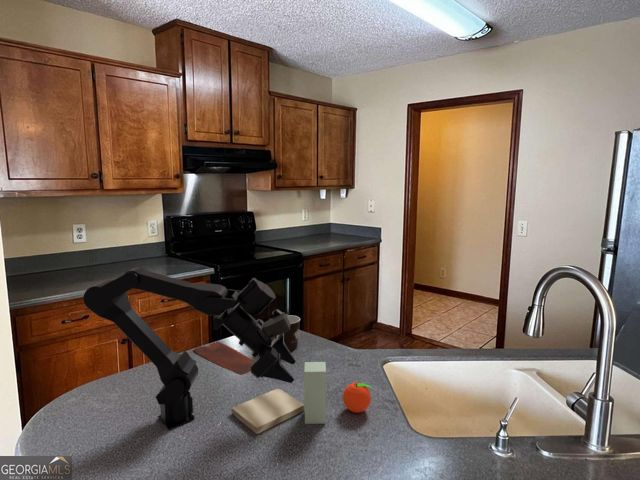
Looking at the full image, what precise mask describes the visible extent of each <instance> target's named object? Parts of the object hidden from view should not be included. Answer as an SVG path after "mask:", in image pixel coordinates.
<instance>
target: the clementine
mask: <svg viewBox="0 0 640 480" xmlns="http://www.w3.org/2000/svg"><path fill="white" fill-rule="evenodd" d="M370 388H371V389H372V390H373V392H374V393H375V391H374V389H373V387H372V386H370V385H368V384H367V383H362V382H352V383H350V384H348V385H347V386H346V387H345V389H344V391H343V394H342V400H343V405H344V406H345V407H346V409H347V410H348V411H350V412H352V413H355V414H357V413H362V412H364V411H366V410H367V409H368V407H369V406H370V405H371V400H372V397H371V392H370V390H369V389H370Z"/></svg>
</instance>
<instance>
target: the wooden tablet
mask: <svg viewBox="0 0 640 480" xmlns="http://www.w3.org/2000/svg"><path fill="white" fill-rule="evenodd" d="M215 342H216V343H215ZM211 343H212V344H211ZM211 343H210V344H209V345H203V347H202V346H198V347H195V348H194V350H193V349H192V351H193V352H194V353H196V354H197V355H199V356H200V357H202V358H204V359H206V360H207V361H210V362H211V363H214V364H216V365H218V366H220V367H222V368H224V369H226V370H228V371H231V372H232V371H233V373H235V374H239V375H244V374H247V373H251V365H252V362H253V360H254V358H253V359H252V358H250V357H249V356H247V355H245V354H243V353H241V351H238V350H237V349H235V348H233V347H231V346H229V345H228V344H225V343H223V342H221V341H217V340H216V341H213V342H211Z"/></svg>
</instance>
